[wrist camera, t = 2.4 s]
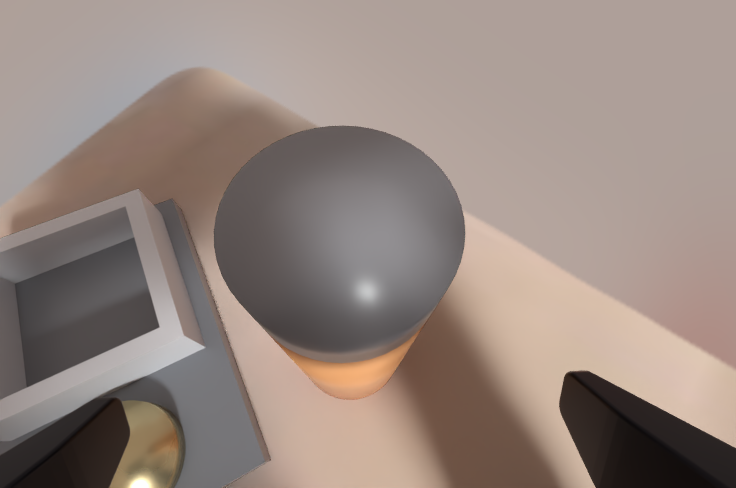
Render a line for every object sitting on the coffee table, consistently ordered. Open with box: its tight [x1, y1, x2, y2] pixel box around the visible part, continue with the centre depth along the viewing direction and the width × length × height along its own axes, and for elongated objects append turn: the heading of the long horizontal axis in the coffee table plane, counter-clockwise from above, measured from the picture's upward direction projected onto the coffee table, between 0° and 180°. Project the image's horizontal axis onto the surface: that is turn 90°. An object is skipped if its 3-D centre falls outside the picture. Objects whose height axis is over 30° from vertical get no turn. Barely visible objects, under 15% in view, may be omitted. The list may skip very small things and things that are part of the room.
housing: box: [0, 188, 271, 488], centre depth 17 cm, size 15×10×4 cm, turn 27°
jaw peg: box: [214, 126, 465, 400], centre depth 13 cm, size 5×5×13 cm
